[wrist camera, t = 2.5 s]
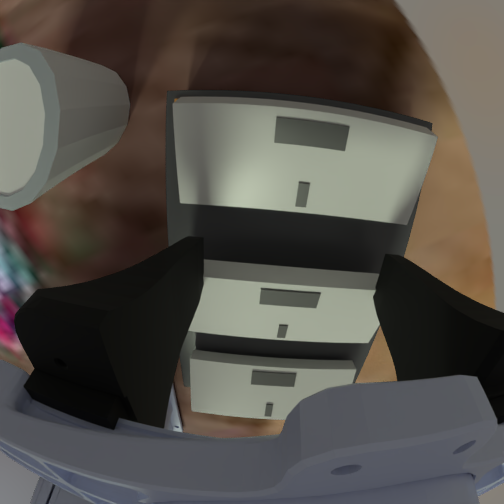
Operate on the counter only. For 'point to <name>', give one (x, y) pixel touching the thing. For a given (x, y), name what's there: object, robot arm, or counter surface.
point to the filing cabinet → (279, 243)
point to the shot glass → (53, 119)
